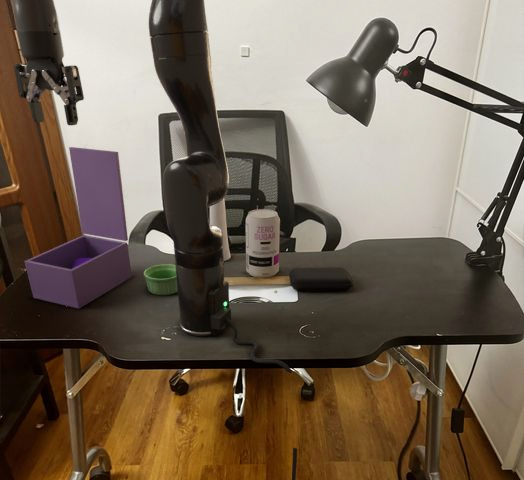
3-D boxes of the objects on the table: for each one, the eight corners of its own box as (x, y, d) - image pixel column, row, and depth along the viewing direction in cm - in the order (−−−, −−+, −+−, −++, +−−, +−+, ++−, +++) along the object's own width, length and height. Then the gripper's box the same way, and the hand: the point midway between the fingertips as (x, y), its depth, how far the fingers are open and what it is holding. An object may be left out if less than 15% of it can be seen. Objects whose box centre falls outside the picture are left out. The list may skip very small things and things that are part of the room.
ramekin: (180, 278, 127) (178, 261, 124) (188, 293, 120) (187, 276, 117) (143, 283, 124) (141, 266, 122) (149, 299, 117) (147, 281, 115)
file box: (79, 308, 113) (71, 271, 108) (33, 297, 117) (24, 261, 113) (132, 276, 128) (127, 242, 123) (89, 268, 132) (83, 234, 128)
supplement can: (265, 263, 135) (265, 206, 128) (285, 273, 130) (287, 214, 122) (239, 270, 131) (238, 212, 123) (259, 281, 126) (259, 220, 118)
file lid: (116, 152, 113) (130, 149, 117) (68, 147, 117) (84, 144, 121) (126, 241, 122) (139, 235, 127) (82, 233, 127) (96, 228, 131)
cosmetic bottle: (216, 263, 135) (212, 177, 124) (203, 256, 139) (198, 172, 128) (235, 258, 139) (233, 173, 127) (222, 251, 143) (218, 169, 131)
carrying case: (346, 274, 129) (287, 275, 129) (347, 263, 128) (287, 263, 127) (354, 293, 120) (290, 293, 120) (355, 280, 119) (291, 281, 118)
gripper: (-7, 28, 95) (15, 123, 104) (53, 29, 91) (70, 128, 99) (24, 29, 101) (42, 119, 110) (82, 29, 97) (96, 123, 105)
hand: (56, 123), depth 104 cm, fingers open, 8 cm apart
